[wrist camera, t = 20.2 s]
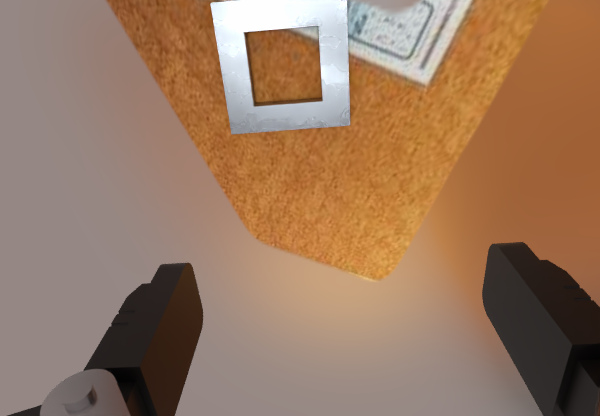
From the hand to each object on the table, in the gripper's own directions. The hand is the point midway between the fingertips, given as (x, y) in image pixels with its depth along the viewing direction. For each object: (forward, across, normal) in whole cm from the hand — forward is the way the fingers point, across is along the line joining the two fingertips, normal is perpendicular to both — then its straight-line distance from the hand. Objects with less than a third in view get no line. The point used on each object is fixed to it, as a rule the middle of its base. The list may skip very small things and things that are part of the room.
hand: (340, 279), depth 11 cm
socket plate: (+33, -3, +1) cm, 33 cm away
